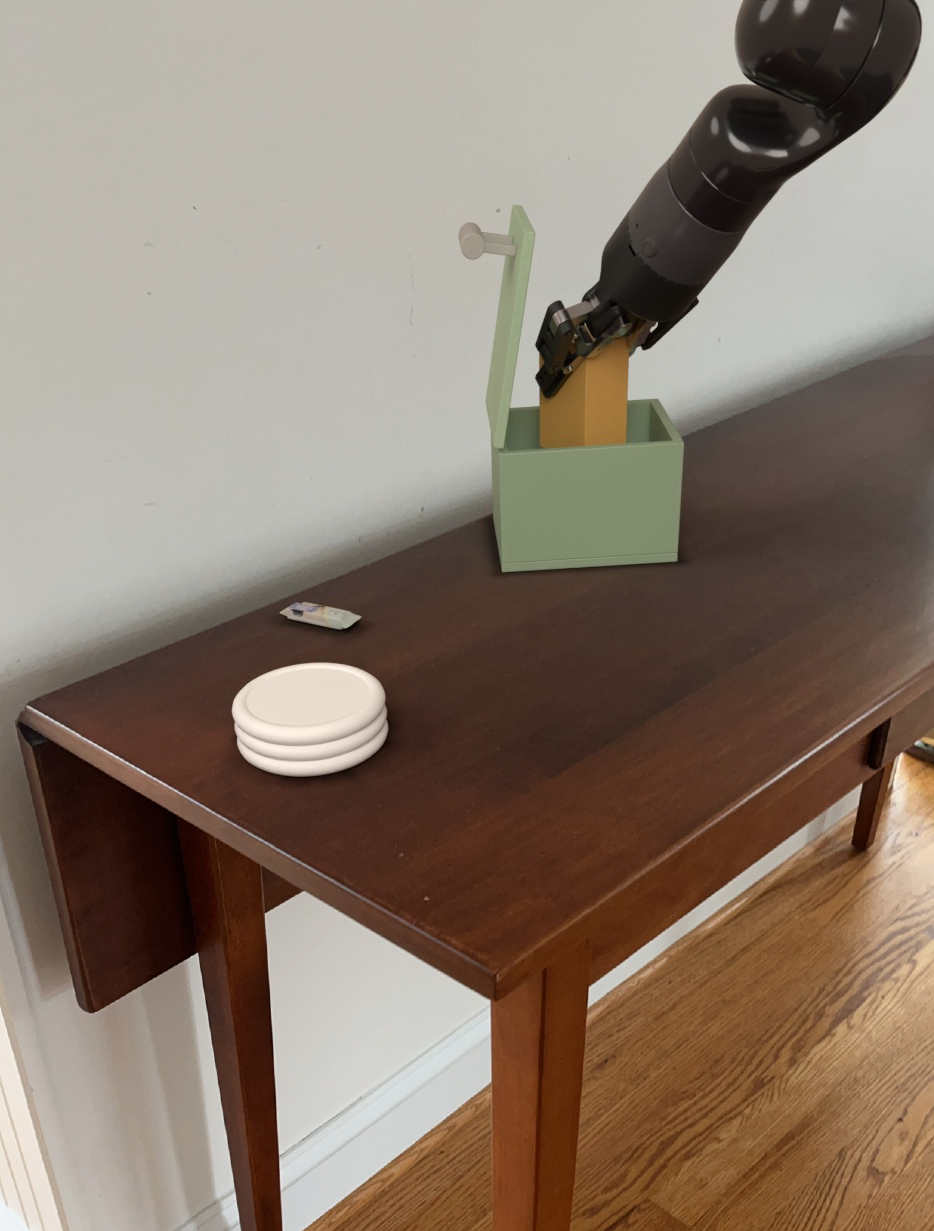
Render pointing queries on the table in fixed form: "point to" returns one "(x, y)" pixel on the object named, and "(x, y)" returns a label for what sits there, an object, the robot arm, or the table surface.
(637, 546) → the chest
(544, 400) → the carton
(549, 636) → the table surface
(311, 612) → the granola bar
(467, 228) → the lid
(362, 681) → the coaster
